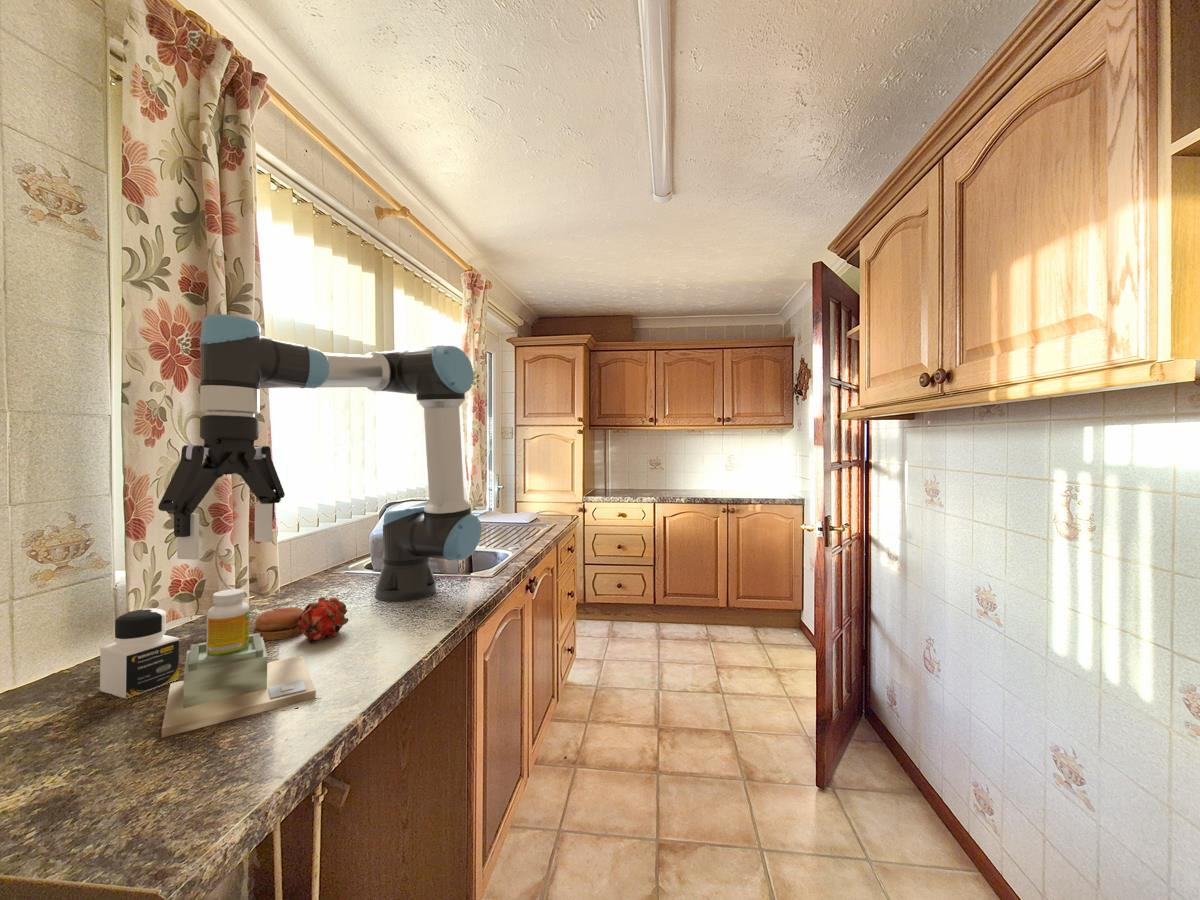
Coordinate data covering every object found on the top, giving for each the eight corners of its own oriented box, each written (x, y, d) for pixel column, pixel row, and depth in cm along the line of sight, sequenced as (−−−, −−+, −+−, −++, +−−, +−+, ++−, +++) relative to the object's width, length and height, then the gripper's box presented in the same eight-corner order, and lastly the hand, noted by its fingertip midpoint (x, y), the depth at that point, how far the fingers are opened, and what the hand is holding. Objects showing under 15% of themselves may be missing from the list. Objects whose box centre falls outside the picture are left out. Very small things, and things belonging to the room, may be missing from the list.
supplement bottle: (252, 653, 78) (253, 592, 78) (209, 664, 74) (210, 599, 74) (244, 644, 82) (245, 585, 82) (203, 653, 78) (204, 592, 78)
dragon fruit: (339, 632, 108) (314, 664, 97) (304, 612, 107) (275, 641, 95) (362, 602, 108) (340, 630, 96) (328, 581, 106) (301, 607, 95)
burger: (283, 643, 99) (283, 619, 99) (242, 640, 100) (242, 617, 100) (318, 626, 108) (318, 604, 108) (280, 623, 110) (280, 602, 110)
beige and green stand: (301, 662, 90) (302, 622, 90) (315, 697, 77) (316, 651, 77) (170, 690, 79) (171, 645, 79) (161, 737, 66) (162, 683, 66)
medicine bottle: (126, 700, 76) (127, 621, 76) (98, 691, 78) (99, 615, 78) (179, 680, 82) (180, 608, 82) (152, 673, 85) (153, 603, 85)
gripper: (270, 419, 91) (269, 535, 91) (124, 408, 66) (123, 566, 66) (308, 420, 90) (306, 536, 90) (174, 408, 65) (172, 569, 66)
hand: (228, 549), depth 78 cm, fingers open, 13 cm apart
